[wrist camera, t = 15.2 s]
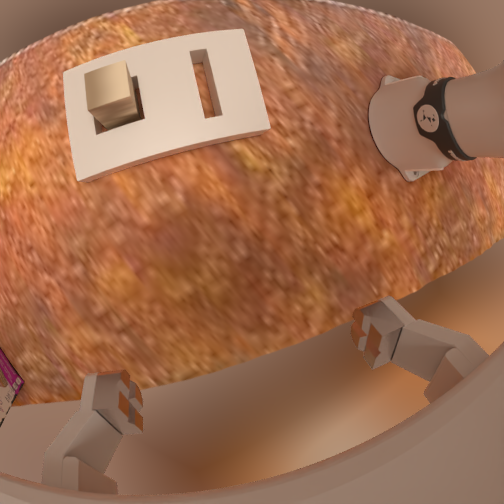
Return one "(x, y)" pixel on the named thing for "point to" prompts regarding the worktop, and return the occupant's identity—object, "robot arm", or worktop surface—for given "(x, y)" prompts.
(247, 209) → the worktop surface
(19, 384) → the candy bar box
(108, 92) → the square peg
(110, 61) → the socket board
